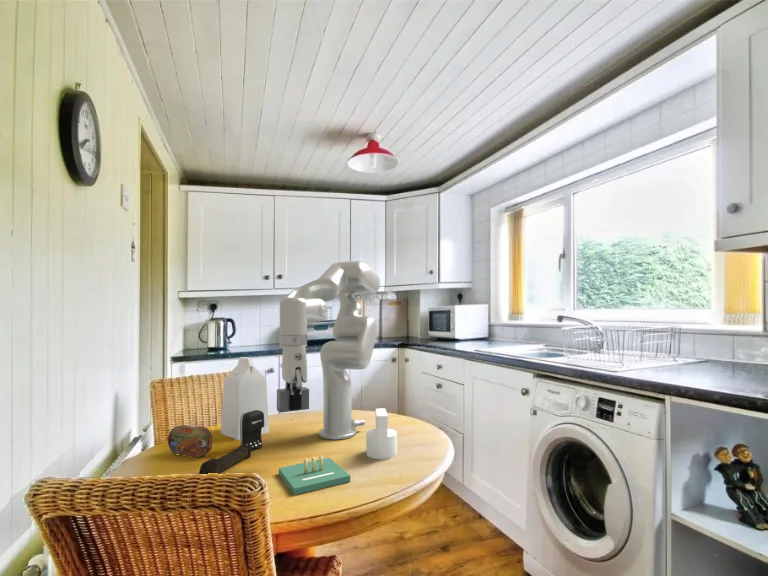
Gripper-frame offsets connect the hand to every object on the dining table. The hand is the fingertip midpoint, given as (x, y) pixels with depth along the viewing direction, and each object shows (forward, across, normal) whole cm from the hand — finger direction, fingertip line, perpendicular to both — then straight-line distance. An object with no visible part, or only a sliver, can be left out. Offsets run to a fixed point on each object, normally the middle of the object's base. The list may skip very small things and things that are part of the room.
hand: (293, 407), depth 110 cm
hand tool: (+16, +6, +16) cm, 24 cm away
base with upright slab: (+16, -5, -25) cm, 30 cm away
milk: (+15, +38, +7) cm, 41 cm away
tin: (+16, +23, +25) cm, 37 cm away
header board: (+16, -11, -2) cm, 19 cm away
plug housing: (+1, 0, 0) cm, 1 cm away
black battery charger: (+16, +18, +8) cm, 25 cm away
